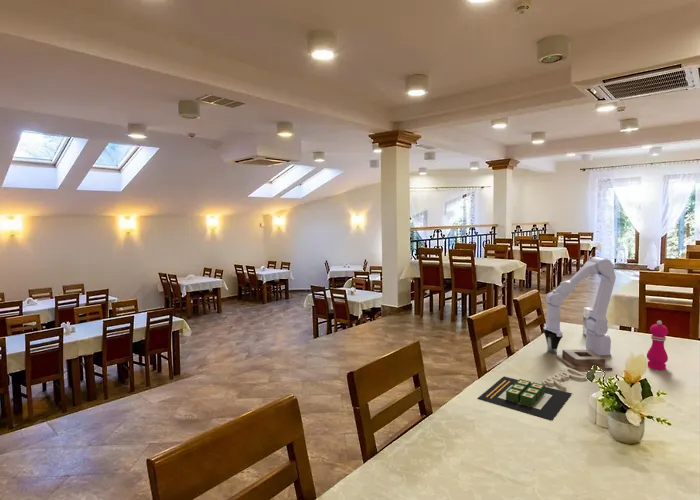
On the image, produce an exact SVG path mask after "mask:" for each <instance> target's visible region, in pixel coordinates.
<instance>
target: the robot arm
mask: <svg viewBox="0 0 700 500" xmlns="http://www.w3.org/2000/svg"><path fill="white" fill-rule="evenodd" d="M590 275H597V276H599V278H600V281H599V285H598V289H597V293H596V297H595V302H594V303H593V304H594V305H593V306H592V307H593V311H592V312H591V313H590V314H589V315H588V318H587V319H586V320H585V322H584V326H585V328H586V329H587V333H586V335H585V336H586V337H585V339H586V340H585V348H581V350H591V351H593V352H595V353H596V354H598V355H599V356H611V355H612V354H611V348H612V347H611V346H612V341H611V340H612V339H611V337H610V335H609V334H608V333H607V332H608V331H609V329H608V328H609V327H608V322H609V321H608V317H607V311H608V308H609V304H610V300H611V297H612V293H613V290H614V286H615V282H616V272H615V265H614V264H613V262H612V261H611V260H610V259H608V258H602V257H599V256H593V257H590V258H589V259H588V260H587V261H586V262H585V263H584V264H583V266H582V267H581V268H580V269H579V270H578V271H577V272H575V273H574V275H572V277H571V278H570V279H568V280H563V281H561V282H560V283H559V285H558V286H557V287H556V288H555V289H552V291H551V292H550V291H549V292H548V293H547V294H546V296H545V297H544V301H545V302H546V318H545V319H546V320H545V322H546V323H543V334H544V335H545V340H546V345H547V344H548V337H549V336H550V339H551V347H552V349H557V350H558V348H559V347H558V346H559V344H560V342H561V339H562V338H563V332H562V330H561V306H562V305H563V303H564V300H565V299H566V298H567V297H568V296H570V295H571V294H572V293H573V292H574V291H575V289H576V286H577V285H578V284H580V282H582V281H583V280H584V279H585V278H587V277H588V276H590Z"/></svg>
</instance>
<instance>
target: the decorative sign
mask: <svg viewBox="0 0 700 500" xmlns="http://www.w3.org/2000/svg"><path fill="white" fill-rule="evenodd" d="M586 373H587V372H583V371H582V372H581V371H579V370H574V369H571V368H569V367H568V366H567V367H565V368H563V370H560V371H559V372H556V373H554V376H553V375H550V376H548V377H546V379H542V380H541V384H542V385H545V387H547V386H549V387H553V386H556V387H557V388H558V389H559V390H561V391H565V390H566V391H567V388H568V386H566V385H565V384H564V383H563V382H565V381H566V380H570V379H573V380H576V381H580V380H585V381H587V380H586ZM562 381H563V382H562Z"/></svg>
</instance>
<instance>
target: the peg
mask: <svg viewBox="0 0 700 500" xmlns="http://www.w3.org/2000/svg"><path fill="white" fill-rule="evenodd" d="M546 345H547V349H546V352H547V353H548V354H551V353H552V355H557V354H558V348H557V349H552V347H551V339H550V336H549V337H548V344H547V343H546Z"/></svg>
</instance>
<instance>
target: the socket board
mask: <svg viewBox="0 0 700 500" xmlns="http://www.w3.org/2000/svg"><path fill="white" fill-rule="evenodd" d="M555 358H556V359H558V360H559V361H560V362H562V363H563V364H564V365H566V366H567V367H568V368H571V369H574V370H576V371H590V370H589V369H591V368H592V366H593V365H596V366H598V367H599V368H600V369H602V370H601V371H613V367H612V366H610V365H609V364H608V363H606V358H604V357H602V355H598V354H596V353H595V352H593V351H591V350H582V349H562V353H561V354H555Z"/></svg>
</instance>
